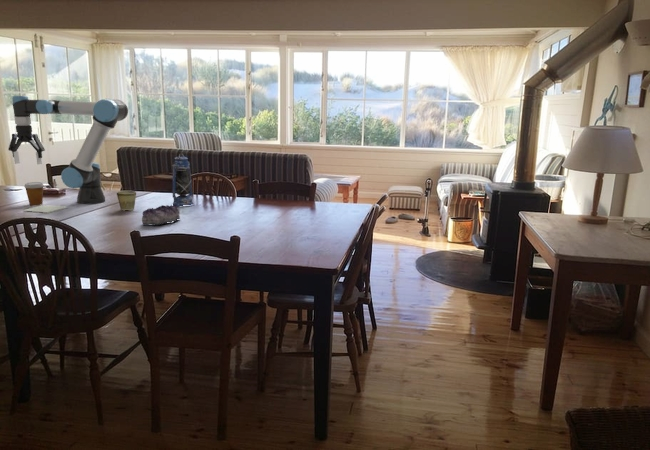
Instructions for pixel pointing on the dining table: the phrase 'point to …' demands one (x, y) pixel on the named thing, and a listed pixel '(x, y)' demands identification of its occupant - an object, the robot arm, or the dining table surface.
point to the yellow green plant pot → (126, 199)
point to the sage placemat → (46, 208)
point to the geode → (160, 215)
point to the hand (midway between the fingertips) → (28, 163)
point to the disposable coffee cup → (34, 192)
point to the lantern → (182, 181)
